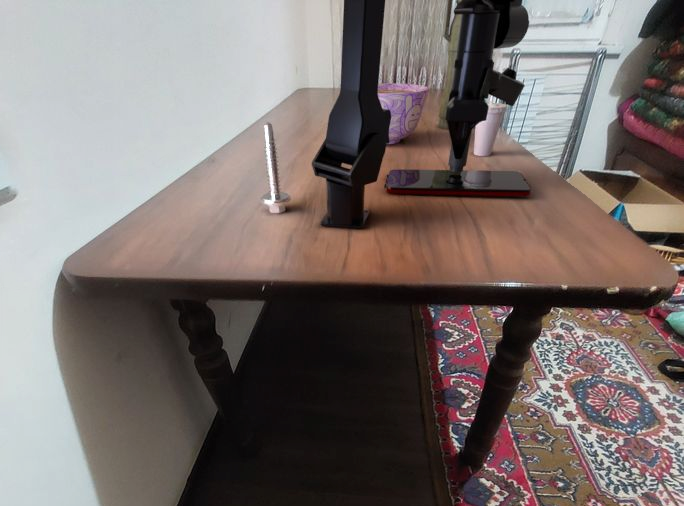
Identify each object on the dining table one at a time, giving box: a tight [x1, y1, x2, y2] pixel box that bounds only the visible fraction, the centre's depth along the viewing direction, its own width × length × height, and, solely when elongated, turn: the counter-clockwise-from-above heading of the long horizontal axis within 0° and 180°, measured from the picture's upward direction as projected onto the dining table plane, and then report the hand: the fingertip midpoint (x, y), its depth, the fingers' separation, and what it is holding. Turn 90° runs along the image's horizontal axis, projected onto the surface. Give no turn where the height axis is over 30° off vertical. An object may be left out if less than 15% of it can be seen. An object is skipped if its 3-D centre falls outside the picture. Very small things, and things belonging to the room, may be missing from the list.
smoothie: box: [473, 95, 508, 157], centre depth 88 cm, size 6×6×14 cm
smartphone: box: [384, 168, 532, 198], centre depth 74 cm, size 12×2×25 cm
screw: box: [260, 121, 292, 214], centre depth 63 cm, size 13×5×5 cm
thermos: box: [437, 0, 462, 130], centre depth 106 cm, size 9×12×35 cm
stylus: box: [447, 130, 473, 173], centre depth 73 cm, size 3×3×9 cm
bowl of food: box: [378, 82, 430, 145], centre depth 101 cm, size 20×20×12 cm
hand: (458, 156), depth 74 cm, fingers closed on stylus, 3 cm apart
